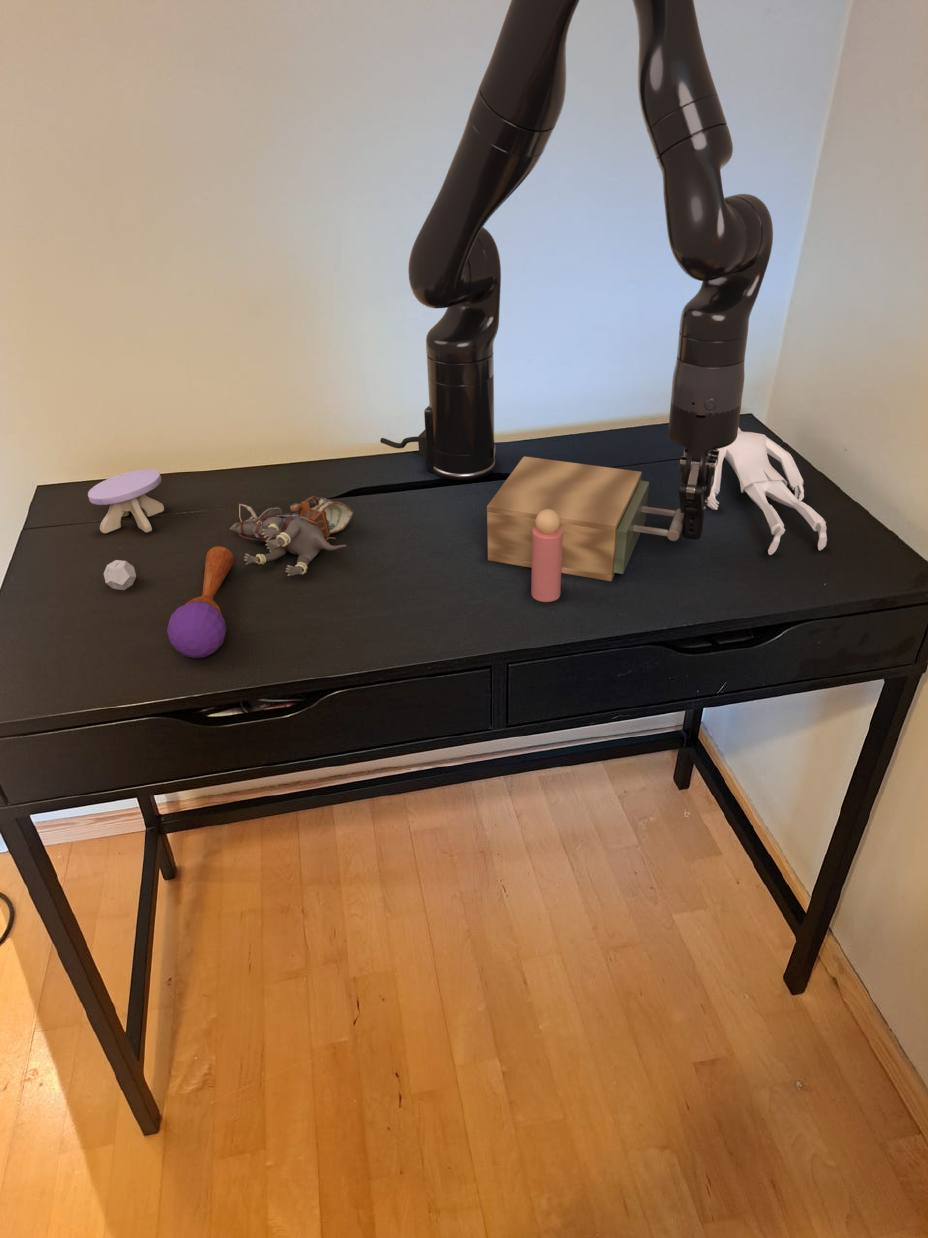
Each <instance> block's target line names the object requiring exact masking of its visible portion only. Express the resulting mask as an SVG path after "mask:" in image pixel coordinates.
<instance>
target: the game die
mask: <svg viewBox="0 0 928 1238" xmlns="http://www.w3.org/2000/svg"><path fill="white" fill-rule="evenodd" d="M103 577H104V582H105V584H106V585H107V586H109V587H110V588H111V589H113V590H117V591H118V590H120V591H125V590H126V589H129V588H130V587H132V586H133V585H134V583H135V580H136V578H137V573H136V570H135V567H134V566H133V565H132V564H131V563H129V562H128V561H127V560H120V559H115V560H113V561H112V562H110V563H108V564H106V567H105V568H104V572H103Z"/></svg>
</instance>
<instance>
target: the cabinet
mask: <svg viewBox="0 0 928 1238" xmlns="http://www.w3.org/2000/svg"><path fill="white" fill-rule="evenodd" d="M642 472H643V471H638V470H631V469H623V468H617V467H616V468H615V467H608V466H600V465H592V464H585V463H578V462H571V461H563V460H554V459H547V458H539V457H533V456H523V457H522V458H521V459H520V460H519V462H518V463H517V465H516V466H515V468H514V469H513V471H512V472H511V473H510V474H509V476H507V478H506V480H505V481H504V482H503V484H502V485H501V487H500V488H499V489H498V490H497V492H496V493H495V495H494V496H493V497H492V499H490V501H489V503H487V505H486V520H487V521H486V523H487V525H486V526H487V533H486V534H487V561H490V562H496V563H502V564H506V565H513V566H519V567H524V568H530V569H532V530H533V528H534V527H535V526H536V524H535V520H536V517H537V515H538V513H539V512H541V511H542V510H545V509H551V510H554V511H555V512H557V513H558V515H559V516H560V520H561V523H560V527H561V528H562V530H563V544H562V569H561V574H565V575H571V576H577V577H582V578H588V579H593V580H594V579H595V580H600V581H606V582H612V581H613V579H614V577H615V574H616V573H614V572H613V570H614V557H615V545H616V532H617V527H618V525H619V523H620V521H621V519H622V517H623V514H624V512H625V510H627V507H628V505H629V503H630V501H631V499H632V497H633V495H634V493H635V491H636V488H637V486H638V484H639V482H640V481H642Z"/></svg>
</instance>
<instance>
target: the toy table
mask: <svg viewBox="0 0 928 1238" xmlns="http://www.w3.org/2000/svg"><path fill="white" fill-rule="evenodd" d="M161 483H162V475H161V472H160V471H159V470H157V469H151V468H150V469H149V468H145V469H135V470H131V471H127V472H123V473H119V474H116V475H114V476H111V477H109V478H107V479H104V480H102V481H100V482H98V483H97V484H95V485H94V486H92V487H91V488H90V489H89V490H88V491H87V497H88V500H89V502H90V503H91V504H93V505H98V506H106V505H109V507H108V511H107V513H106V514H105V516H104V517H103V519H102V520H101V522H100V525H99V530H100V532H101V533H102V534H108V533H110V532H113V531H116V530H118V529H121V527H122V524H121V522H122V518H125V517H128V516H129V515H130V513H131V514H132V516H133V518H134V520H135V522H136V525H137V528H138V529H140V530H141V531H142V532H144V533H151V532H152V531H153V527H152V525H151V523H150V521H149V519H148V517H152V516H155V515H158V514H160V513H163V512H164V511H165V507H164V504H163V503H162V502H160V501H158V500H156V499H154V498H152V497H149V496H148V495H147V493H150V491H153V490H154V489H155V488H157V487H158V486H159V485H161ZM129 512H130V513H129Z"/></svg>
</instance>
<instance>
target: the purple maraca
mask: <svg viewBox="0 0 928 1238" xmlns="http://www.w3.org/2000/svg"><path fill="white" fill-rule="evenodd" d="M234 561H235V558H234V554H233V553H232V551H231V550H230V549H228V548H227V547H225V546H220V545H219V546H213V547H211V548H210V549H209V550H208V551H207V552H206V556H205V565H204V576H203V585H202V594H201V595H200V596H197V597H194V598H192V599H190V600H188V601H187V602H186V603H185V604H183V605H181V606H179V607H177V608H176V609H175V610H174V612H172V614H171V616H170V618H169V621H168V625H167V629H166V632H167V636H168V640H169V642H170V645H172V647H173V648H174V650H175V651H176V652H177V653H179V654H181V655H183V656H184V657H187V658H192V659H200V658H202V659H203V658H205V657H208V656H210V655H213V653H216V652H217V651H218V650H219V649H220V647H221V646H222V645H223V644H224V640H225V636H226V633H227V625H226V620H225V619H224V617H223V614H222V611H221V608H220V607H219V606H218V604H217V603H216V601H215V600H214V598H215V596H216V594H217V593H218V591H219V589H220V587H221V585H222V584H223V582H224V580H225V579H226V577H227V575H228V573H229V572H230V570H231V568H232V567H233V565H234Z"/></svg>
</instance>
